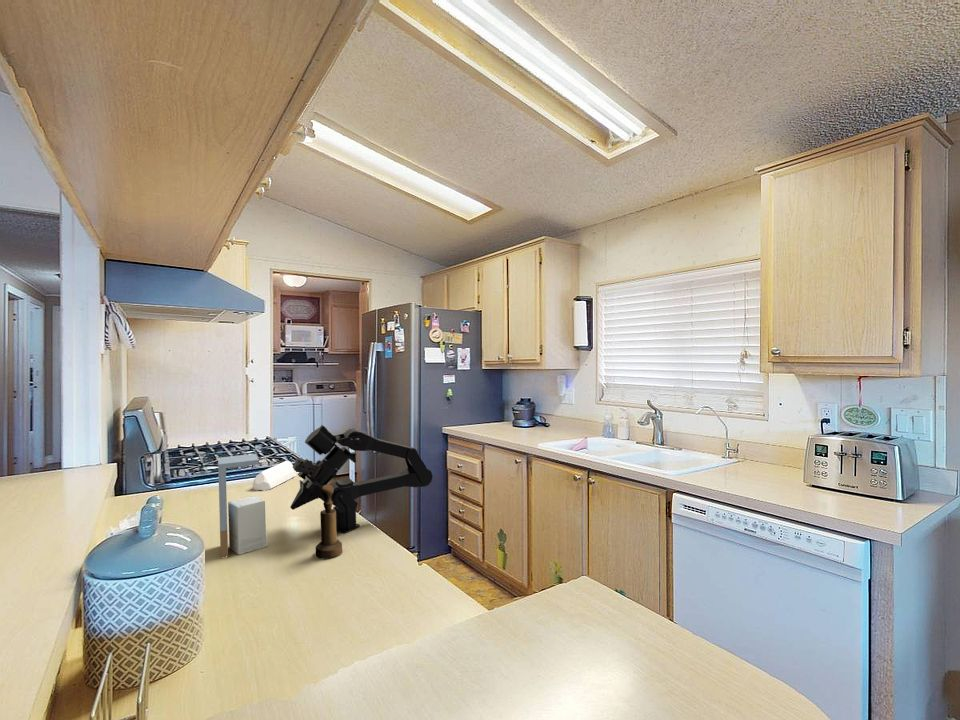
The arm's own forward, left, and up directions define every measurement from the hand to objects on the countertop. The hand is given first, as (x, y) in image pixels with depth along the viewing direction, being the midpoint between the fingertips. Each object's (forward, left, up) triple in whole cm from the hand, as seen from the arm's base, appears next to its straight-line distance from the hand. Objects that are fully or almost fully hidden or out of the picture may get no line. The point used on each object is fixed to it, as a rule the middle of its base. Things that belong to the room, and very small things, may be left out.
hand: (291, 508), depth 136 cm
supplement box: (+5, +10, -9) cm, 14 cm away
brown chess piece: (-17, +2, -9) cm, 20 cm away
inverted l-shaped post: (+7, +11, -8) cm, 16 cm away
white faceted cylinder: (+56, -36, -9) cm, 67 cm away
